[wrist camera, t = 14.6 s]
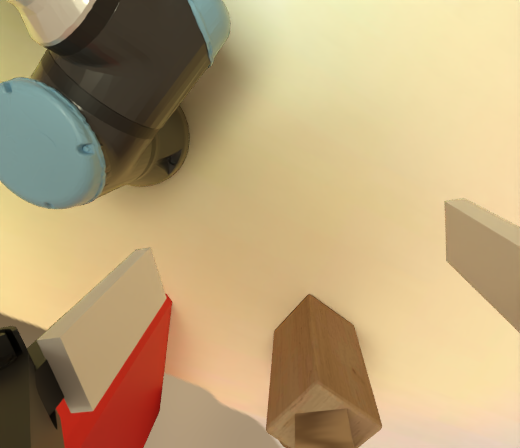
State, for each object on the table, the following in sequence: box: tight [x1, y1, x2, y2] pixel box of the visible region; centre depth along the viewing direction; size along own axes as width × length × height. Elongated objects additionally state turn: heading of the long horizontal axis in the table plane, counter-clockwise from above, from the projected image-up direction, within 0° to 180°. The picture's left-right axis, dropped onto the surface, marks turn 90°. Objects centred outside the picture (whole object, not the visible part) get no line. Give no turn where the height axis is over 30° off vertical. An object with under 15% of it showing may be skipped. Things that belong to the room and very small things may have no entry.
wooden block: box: [266, 295, 382, 448], centre depth 50 cm, size 10×10×20 cm
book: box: [56, 294, 172, 448], centre depth 49 cm, size 27×8×32 cm, turn 169°
